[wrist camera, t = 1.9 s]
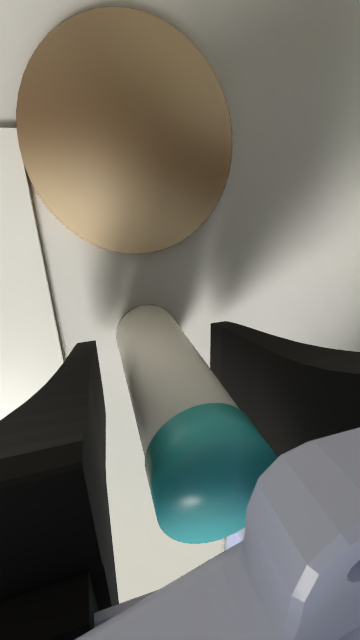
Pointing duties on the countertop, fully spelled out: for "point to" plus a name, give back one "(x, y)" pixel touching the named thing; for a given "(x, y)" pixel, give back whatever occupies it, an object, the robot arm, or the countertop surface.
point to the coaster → (124, 130)
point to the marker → (188, 431)
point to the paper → (22, 288)
